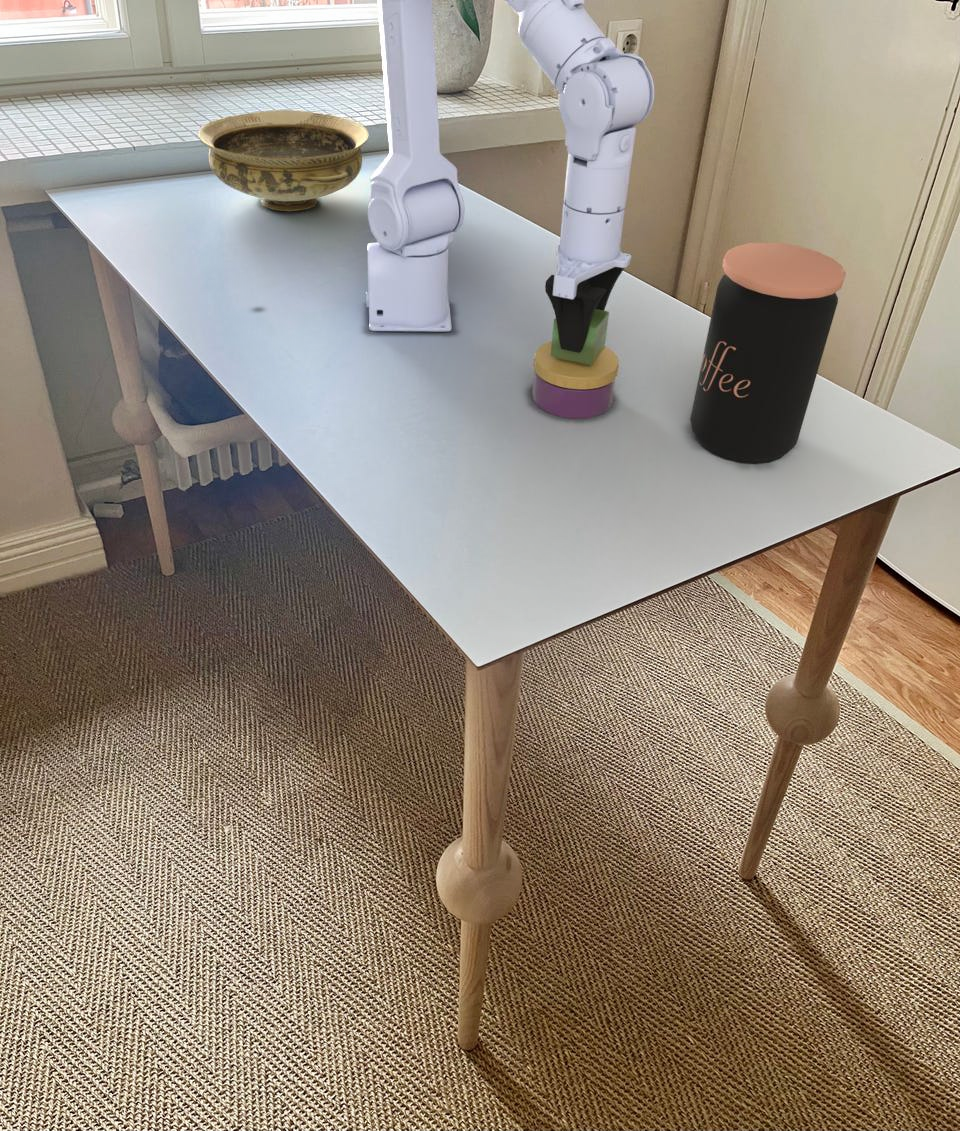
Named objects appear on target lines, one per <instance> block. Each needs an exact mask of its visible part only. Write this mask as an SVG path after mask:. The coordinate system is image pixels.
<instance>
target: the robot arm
mask: <svg viewBox="0 0 960 1131" xmlns="http://www.w3.org/2000/svg"><path fill="white" fill-rule="evenodd" d="M504 2H505V3H506V4H507V5H508V6H509V7H510V9H511V10H512V11H513V13H514V14H516V15H517V17H518V28H517V29H518V30H517V32H518V39H519V42H520V43H521V44H522V46H523V47H524V48H525V49H526V51H527V52H528V54H529V55H530V56H531V57H532V59H533V60H534V62H535V64H537V65H538V66H539V68H540V69H541V71H542V72H543V73H544V74H545V76H546V77H547V79H548V80H549V81H550V83H551V84H552V85H553V87H554V89H556V90H557V92H558V95H557V96H558V97H557V100H558V101H557V103H558V111H559V115H560V118H561V120H562V122H563V125H564V129H565V138H564V140H565V141H564V146H565V147H566V151H567V162H566V173H565V184H564V194H563V204H562V215H561V226H560V237H559V244H558V245H557V247H556V273H555V274H551V275H549V277H548V278H547V279H546V280H545V285H544V290H545V293H546V295H547V297H548V299H549V301H550V303H551V306H552V310H553V312H554V315H555V318H556V321H557V328H558V335H559V342H560V347H561V349H564V350H568V351H573V352H577V353H580V352H581V351H582V349H583V347H584V344H585V342H586V338H587V335H588V331H589V327H590V323H591V320H592V317H593V314H594V312H595V309H599V310H604V311H606V307H607V304H608V301H609V298H610V295H611V293H612V291H613V289H614V287H615V285H616V283H617V281H618V279H619V277H620V276H621V274H622V273H623V271H624V270H625V268H627V267H628V266H629V265H630V264H631V262H632V255H631V254H630V253H627V252H622V249H621V242H622V237H623V236H622V234H623V227H624V220H625V212H626V207H627V200H628V199H627V198H628V193H629V192H628V191H629V186H630V185H629V184H630V177H631V169H632V164H633V163H632V161H633V155H634V147H635V139H636V133H637V126H638V125H640V124H641V123H643V122H644V121H645V120H646V119H647V117H648V116H649V114H650V112H651V111H652V108H653V105H654V100H655V99H654V98H655V83H654V80H653V75H652V74H651V72H650V70H649V68H648V67H647V65H646V63H645V61H644V59H643V58H642V57H641V56H639V55H637V54H635V53H629V52H628V53H624V52H622V51H621V50H620V48H618V47H616V44H615V42H614V41H613V40H612V39H611V38H610V37H606V35H605V34H604V33H603V31H602V30H601V28H600V27H599V26H598V25H597V24H596V22H595V21H594V20H593V18H592V17H591V16H590V14H589V13H588V12H587V11H586V9H585V8H584V5H585V0H504ZM433 6H434V5H433V0H377V9H378V20H379V21H378V22H379V34H380V46H381V59H382V60H381V61H382V73H383V86H384V98H385V100H384V101H385V110H386V112H385V113H386V123H387V124H386V126H387V139H388V150H389V152H388V155H387V157H386V158H385V159H384V160H383V162H382V163H381V164H380V165H379V166H378V168H377V169H376V170H375V171H374V173H373V174H372V175H371V177H370V178H369V179H370V199H369V202H368V207H367V208H368V209H367V220H368V225H369V228H370V231H371V234H372V235H373V237H374V239H375V240H376V241H377V242H370V243H367V290H366V292H365V303H366V304H365V305H366V308H368V321H369V323H368V324H369V325H368V329H369V330H370V331H372V332H441V333H443V332H445V333H446V332H448V333H449V332H451V331H452V318H451V308H450V302H449V300H448V282H449V281H448V277H449V245H450V244H452V243H454V233H456V232H457V231H459V229H461V227H462V225H463V223H464V220H465V212H466V211H465V202H464V198H463V194H462V192H461V189H460V186H459V179H458V168H457V167H456V166H455V165H454V164H453V163H452V162H450V161H449V159H447V158H446V157H445V156H444V155H443V154H442V153H441V149H440V132H439V131H440V128H439V127H440V125H439V109H438V108H439V106H438V89H437V88H438V85H437V67H436V66H437V65H436V44H435V24H434V7H433Z"/></svg>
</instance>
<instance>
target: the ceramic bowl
mask: <svg viewBox="0 0 960 1131" xmlns="http://www.w3.org/2000/svg"><path fill="white" fill-rule="evenodd" d="M197 134H198V139H199V140H200V141H201V142H202V144H204V145H205V146H206V147H207V148H209V149H208V163H209V166H210V169H211V171H212V173H213V174H214V175H215V176H216V178H217V179H218V180H220V181H221V182H222V183H223V184H225V185H226V186H228V187H230V188H232V189H233V190H235V191H238V192H240V193H243V194H246V195H247V196H252V197H255V198H258V199H261V200H260V201H261V205H262V206H264V207H265V208H268V209H271V210H276V211H280V212H282V211H283V212H296V211H297V212H298V211H304V210H308V209H310V208H313V207H315V206H316V205H317V203H318V201H317V199H318V198H322V197H325V196H328V195H331V194H334V193H337V192H338V191H340V190H343V189H344V188H346V187H347V186H349V185H350V184H351V183H352V182H353V181H354V180H356V178H357V177H358V176H359V174H360V172H361V170H362V166H363V154H362V149H361V148H362V147H363V146H364V145H365V144H366V143H367V141H368V139H369V137H370V133H369V131H368V129H367V128H366V127H365V126H364V125H362V124H361V123H358V122H357V121H355V120H351V119H349V118H345V117H341V116H339V115H338V116H337V115H333V114H325V113H320V112H312V111H306V110H291V109H282V110H281V109H279V110H264V111H255V112H249V113H242V114H235V115H230V116H225V117H221V118H218V119H215V120H212V121H210V122H208V123H206V124H204V125H202V127H200V129H199V130H198V133H197Z"/></svg>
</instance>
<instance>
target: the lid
mask: <svg viewBox="0 0 960 1131" xmlns="http://www.w3.org/2000/svg"><path fill="white" fill-rule="evenodd" d="M551 345H552V340H550V341H548V342H545V343H543V344H542V345H539V347H538V348H537V349H536V350H535V352H534V358H533V362H532V367H533V372H534V371H535V372H536V373H537V375H538V376H539V377H541V378H542V379H543V380H545V381H547V382H549V383H551V384H553V385H556V386H559V387H564V388H569V389H594V388H599V387H602V386H605V385H607V384H609V383H611V382H612V381H613V380H614V379H615V380H616V378H617V377H618V373H619V367H620V364H619V363H620V362H619V361H620V360H619V357H618V355H617V354H616V353H615V352H614V350H612V349H611V348H609V347H608V346H605V348H604V349H603V350H602V352H601V353H600V355H599V356H598V357H597V359H596V360H595V362H594V363H593V364H592V365H587V364H582V363H578V362H574V361H569V360H565V359H560V358H556V357H552V356H551Z"/></svg>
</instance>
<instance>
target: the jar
mask: <svg viewBox="0 0 960 1131" xmlns="http://www.w3.org/2000/svg"><path fill="white" fill-rule="evenodd" d="M532 383H533V384H532V394H531V396H532V397H531V398H532V400H533V403H534V404H535V405H536V406H537V407H538V408H539V409H541V410H542V411H544V412H546V413H548V414H550V415H553V416H556V417H561V418H566V419H575V420H577V419H589V418H594V417H598V416H600V415H603V414H604V413H606V412H607V411H609V410H610V408H611V407H612V404H613V398H614V392H615V385H616V378H615V379H614V380H613V381H612V382H611V383H609V384H607V385H605V386H602V387H599V388H594V389H569V388H564V387H559V386H556V385H553V384H551V383H549V382H547V381H545V380H543V379H542V378H541V377H539V376H538V375H537V373H536V372H535V371H534V370H533V382H532Z"/></svg>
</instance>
